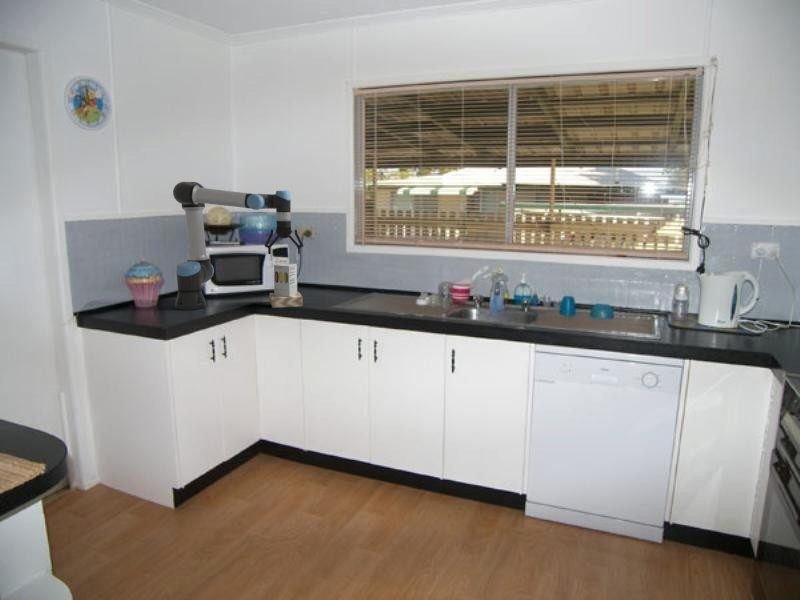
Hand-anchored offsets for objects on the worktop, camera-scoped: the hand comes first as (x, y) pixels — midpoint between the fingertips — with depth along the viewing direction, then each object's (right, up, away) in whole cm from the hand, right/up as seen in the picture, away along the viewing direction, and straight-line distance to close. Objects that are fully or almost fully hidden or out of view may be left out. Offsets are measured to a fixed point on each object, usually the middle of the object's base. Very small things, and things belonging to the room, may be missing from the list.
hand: (284, 260), depth 303 cm
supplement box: (0, -19, +4) cm, 19 cm away
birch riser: (0, -24, +5) cm, 24 cm away
